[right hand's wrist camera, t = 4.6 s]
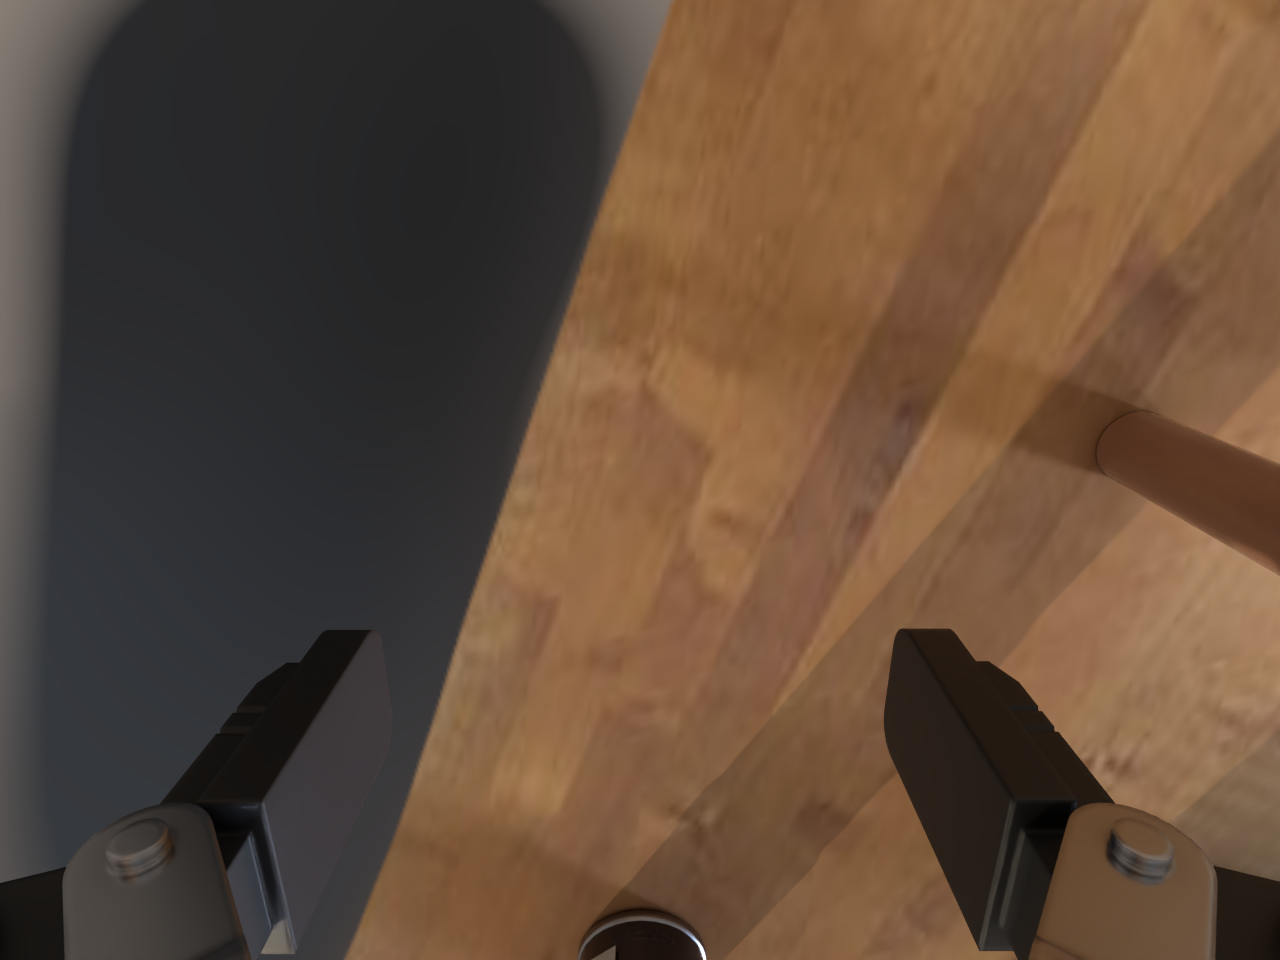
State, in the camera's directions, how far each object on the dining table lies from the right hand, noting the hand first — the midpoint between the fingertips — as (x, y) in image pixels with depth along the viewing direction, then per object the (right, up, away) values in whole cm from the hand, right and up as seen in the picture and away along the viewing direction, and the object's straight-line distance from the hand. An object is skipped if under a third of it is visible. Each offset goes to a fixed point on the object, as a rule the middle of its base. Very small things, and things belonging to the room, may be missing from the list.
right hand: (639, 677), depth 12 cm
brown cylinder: (+27, +5, +29) cm, 40 cm away
